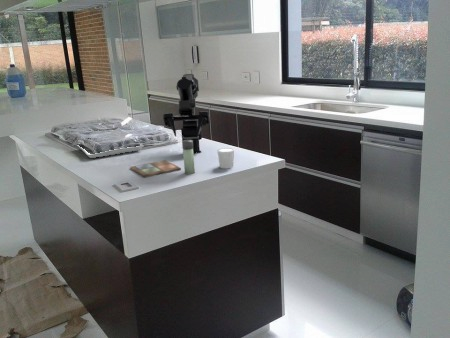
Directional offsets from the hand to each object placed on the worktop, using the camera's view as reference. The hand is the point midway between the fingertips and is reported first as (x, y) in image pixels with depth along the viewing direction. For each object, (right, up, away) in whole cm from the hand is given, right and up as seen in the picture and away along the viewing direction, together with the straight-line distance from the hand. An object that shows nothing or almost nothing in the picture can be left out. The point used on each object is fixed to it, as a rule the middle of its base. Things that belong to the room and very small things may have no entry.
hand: (186, 135), depth 175 cm
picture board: (-13, -14, +3) cm, 19 cm away
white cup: (+16, -13, +2) cm, 21 cm away
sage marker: (+2, -15, -4) cm, 16 cm away
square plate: (-42, -5, +40) cm, 58 cm away
